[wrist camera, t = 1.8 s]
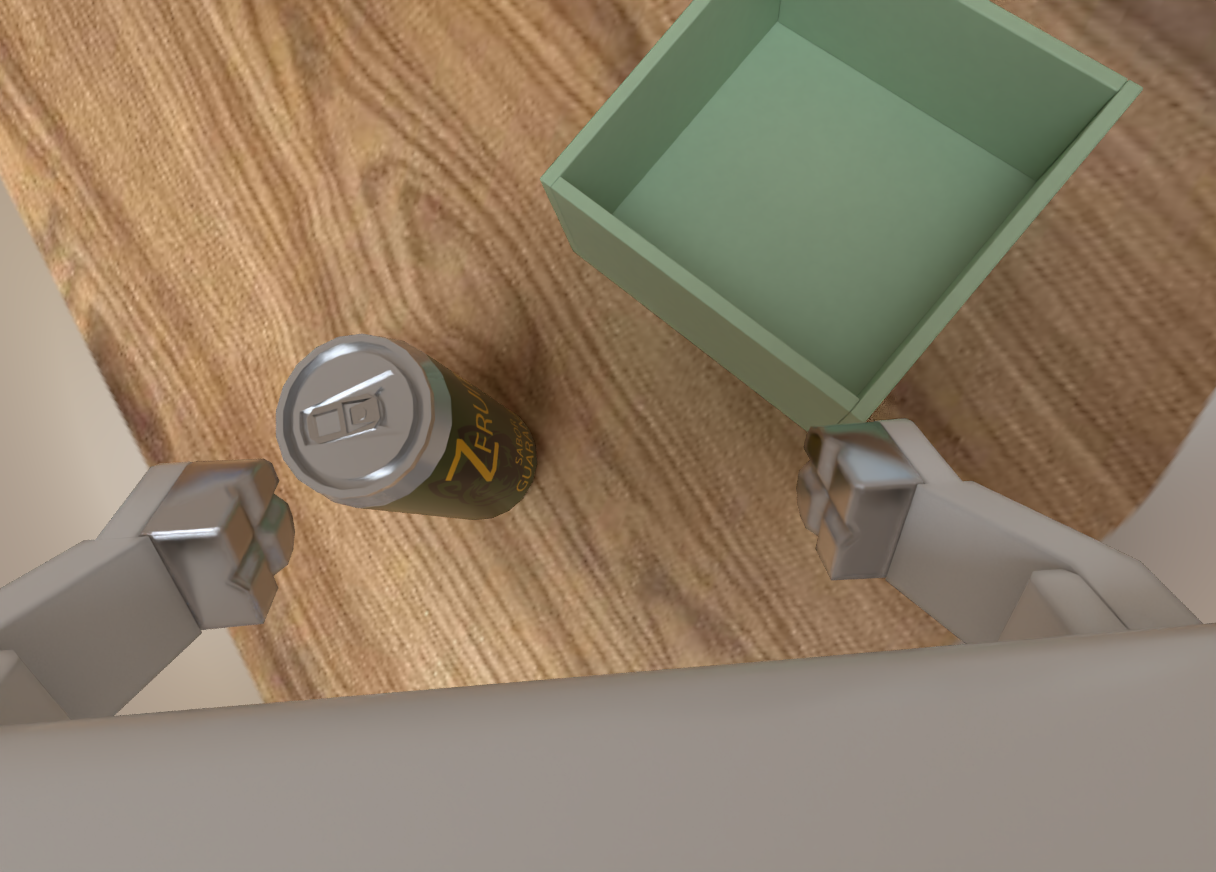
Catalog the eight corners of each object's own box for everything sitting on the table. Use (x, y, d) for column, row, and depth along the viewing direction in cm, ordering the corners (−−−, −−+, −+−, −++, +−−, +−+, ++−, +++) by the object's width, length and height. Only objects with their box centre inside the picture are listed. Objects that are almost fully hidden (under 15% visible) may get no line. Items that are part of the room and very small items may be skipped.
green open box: (1050, 186, 30) (1145, 87, 23) (830, 449, 29) (864, 423, 23) (773, 16, 33) (789, -113, 26) (572, 251, 33) (538, 178, 26)
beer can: (442, 533, 31) (282, 526, 20) (420, 423, 32) (256, 354, 21) (552, 503, 31) (455, 479, 19) (527, 393, 32) (420, 304, 20)
